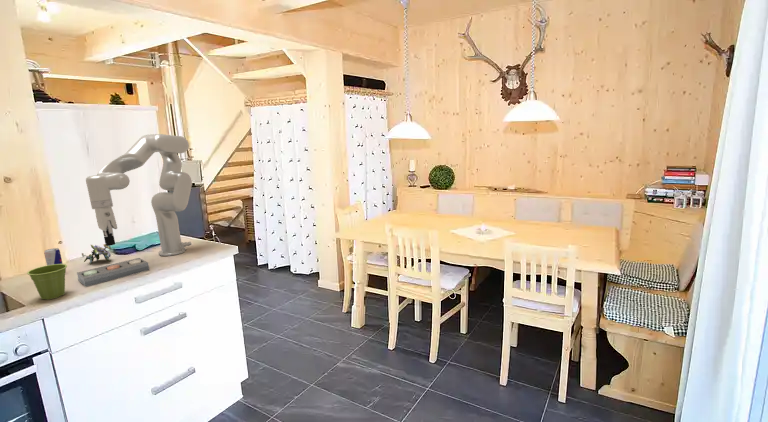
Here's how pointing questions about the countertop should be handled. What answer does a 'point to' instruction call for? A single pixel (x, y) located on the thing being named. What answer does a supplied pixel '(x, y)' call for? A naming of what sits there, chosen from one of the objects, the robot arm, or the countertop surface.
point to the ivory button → (134, 262)
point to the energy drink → (53, 256)
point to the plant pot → (49, 280)
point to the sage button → (90, 272)
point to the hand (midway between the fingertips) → (110, 244)
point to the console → (112, 272)
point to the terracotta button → (113, 267)
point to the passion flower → (98, 253)
